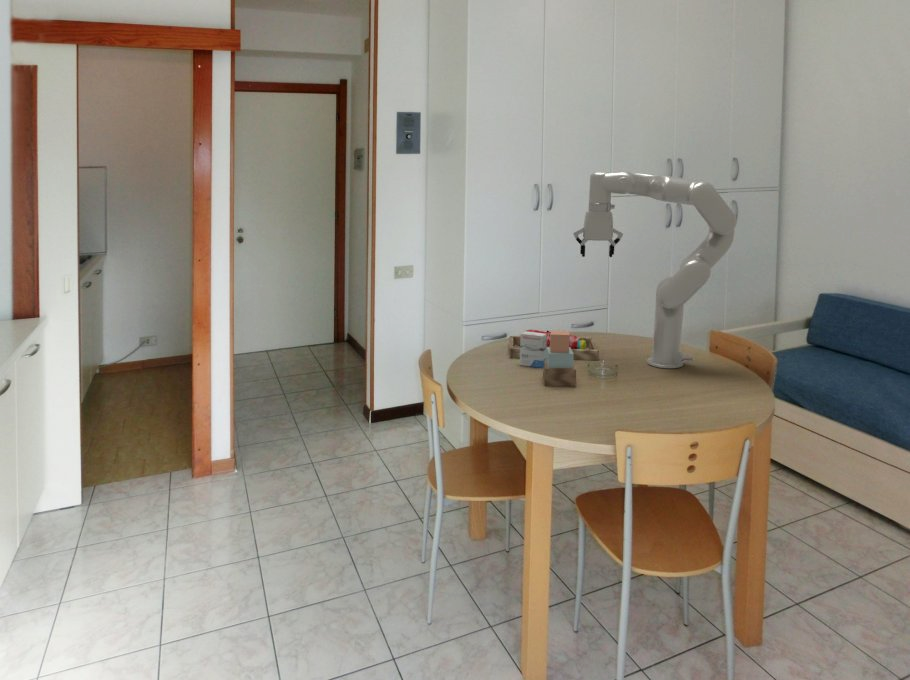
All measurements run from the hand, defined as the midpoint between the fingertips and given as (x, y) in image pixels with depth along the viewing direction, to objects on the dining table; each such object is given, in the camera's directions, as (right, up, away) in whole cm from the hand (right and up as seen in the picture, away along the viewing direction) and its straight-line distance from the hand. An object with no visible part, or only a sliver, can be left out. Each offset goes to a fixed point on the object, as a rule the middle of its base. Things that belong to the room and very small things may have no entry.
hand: (596, 256), depth 254 cm
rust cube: (-16, -33, -19) cm, 42 cm away
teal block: (-16, -38, -18) cm, 45 cm away
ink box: (-23, -39, +2) cm, 45 cm away
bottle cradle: (-13, -35, +19) cm, 42 cm away
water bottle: (-12, -34, +21) cm, 42 cm away
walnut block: (-16, -44, -16) cm, 50 cm away
